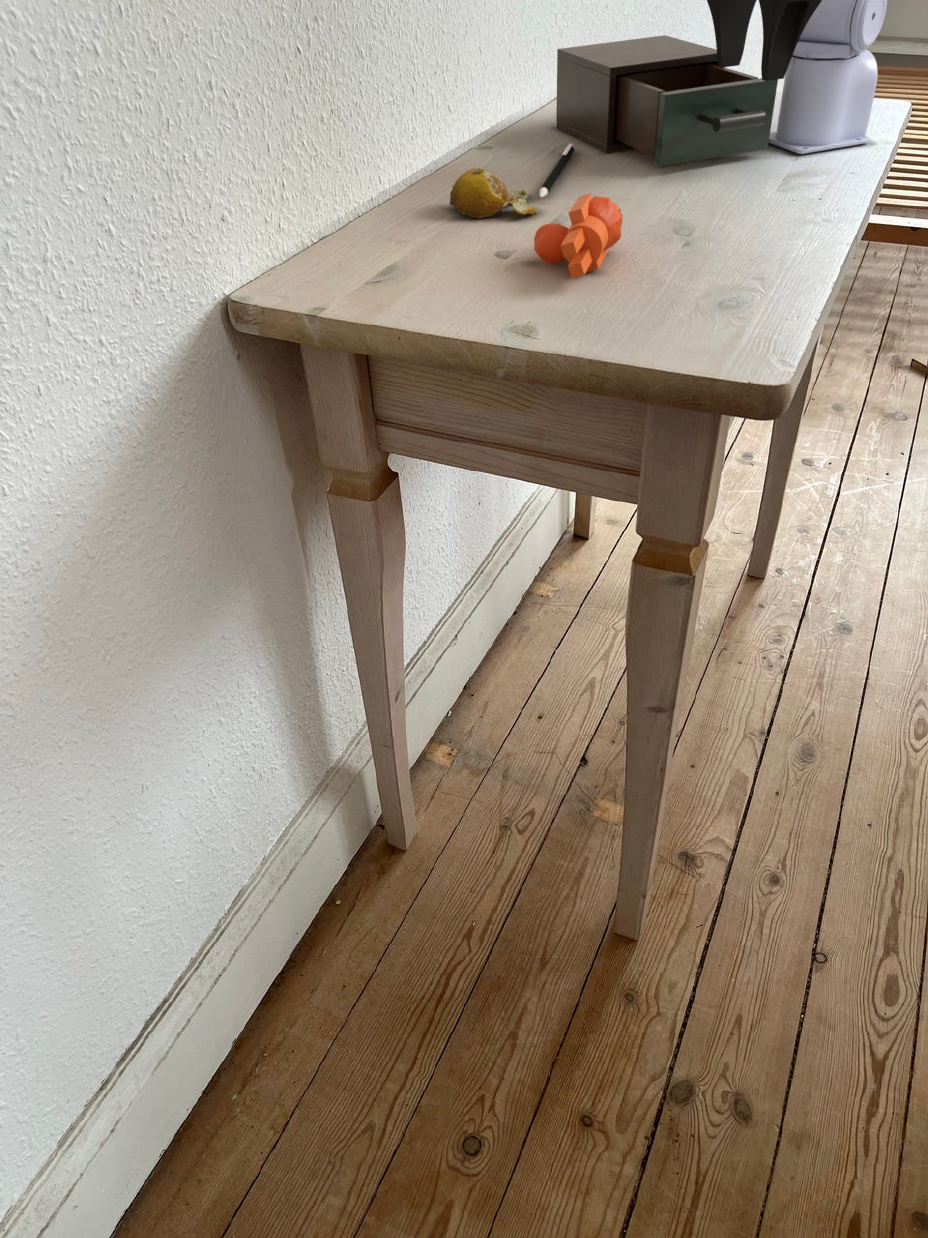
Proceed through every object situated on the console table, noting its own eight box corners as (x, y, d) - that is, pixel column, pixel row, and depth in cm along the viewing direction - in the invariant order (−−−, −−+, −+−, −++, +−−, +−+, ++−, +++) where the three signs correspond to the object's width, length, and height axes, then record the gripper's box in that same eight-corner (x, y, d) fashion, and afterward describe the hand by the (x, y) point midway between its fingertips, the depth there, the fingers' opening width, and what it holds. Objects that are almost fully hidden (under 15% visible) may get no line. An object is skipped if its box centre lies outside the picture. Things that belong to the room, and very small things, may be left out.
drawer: (791, 158, 99) (803, 85, 95) (680, 176, 96) (688, 102, 92) (706, 124, 111) (713, 59, 107) (605, 140, 108) (608, 73, 104)
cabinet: (716, 135, 111) (726, 51, 105) (606, 153, 107) (610, 67, 102) (659, 112, 121) (665, 34, 115) (556, 128, 117) (557, 48, 112)
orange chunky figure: (595, 218, 72) (622, 174, 81) (507, 245, 76) (542, 200, 84) (612, 281, 75) (637, 232, 84) (527, 305, 78) (558, 255, 87)
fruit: (540, 218, 91) (540, 178, 88) (456, 226, 90) (453, 186, 88) (524, 193, 97) (524, 155, 95) (445, 201, 96) (443, 162, 94)
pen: (576, 150, 108) (576, 139, 108) (544, 201, 94) (544, 189, 94) (568, 150, 108) (569, 139, 108) (536, 201, 95) (536, 189, 94)
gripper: (691, -102, 87) (676, 64, 96) (783, -97, 77) (757, 90, 86) (756, -108, 89) (736, 56, 98) (855, -103, 78) (822, 81, 87)
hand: (750, 72), depth 92 cm, fingers open, 7 cm apart
